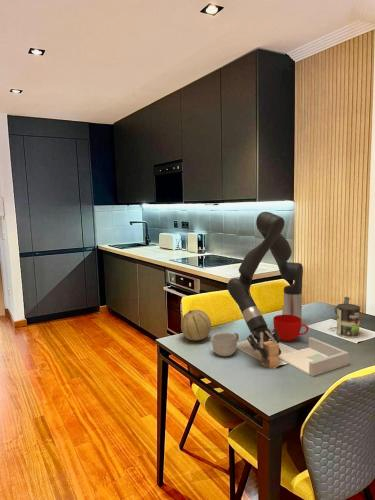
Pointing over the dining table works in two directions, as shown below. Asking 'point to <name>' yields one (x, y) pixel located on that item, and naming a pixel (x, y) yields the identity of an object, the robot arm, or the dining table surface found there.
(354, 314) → the coffee can
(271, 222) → the robot arm
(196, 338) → the cantaloupe
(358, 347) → the dining table surface
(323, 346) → the platform
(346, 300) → the mortar and pestle
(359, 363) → the dining table surface
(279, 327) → the ceramic cup
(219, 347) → the teacup
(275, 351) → the wood block
